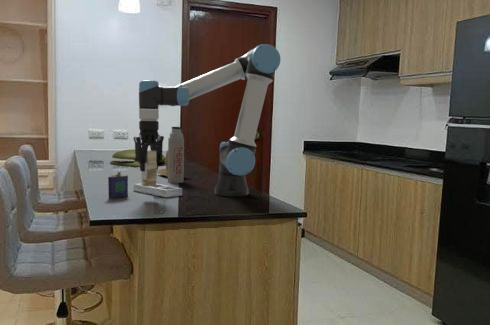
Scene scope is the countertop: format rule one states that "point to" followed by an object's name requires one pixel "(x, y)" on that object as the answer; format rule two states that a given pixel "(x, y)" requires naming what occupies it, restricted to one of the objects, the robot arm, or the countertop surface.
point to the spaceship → (130, 158)
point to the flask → (118, 186)
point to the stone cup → (165, 171)
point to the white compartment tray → (159, 190)
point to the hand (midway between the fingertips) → (149, 178)
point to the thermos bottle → (175, 156)
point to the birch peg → (150, 169)
